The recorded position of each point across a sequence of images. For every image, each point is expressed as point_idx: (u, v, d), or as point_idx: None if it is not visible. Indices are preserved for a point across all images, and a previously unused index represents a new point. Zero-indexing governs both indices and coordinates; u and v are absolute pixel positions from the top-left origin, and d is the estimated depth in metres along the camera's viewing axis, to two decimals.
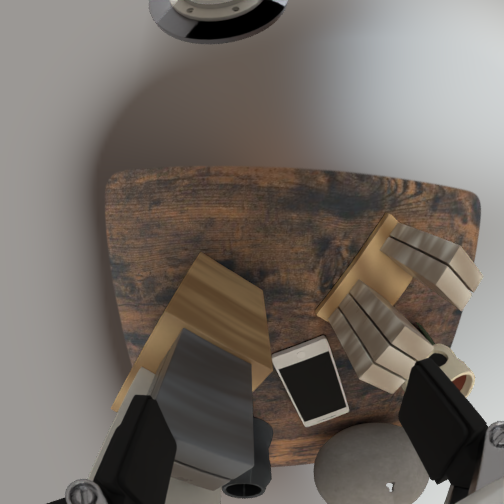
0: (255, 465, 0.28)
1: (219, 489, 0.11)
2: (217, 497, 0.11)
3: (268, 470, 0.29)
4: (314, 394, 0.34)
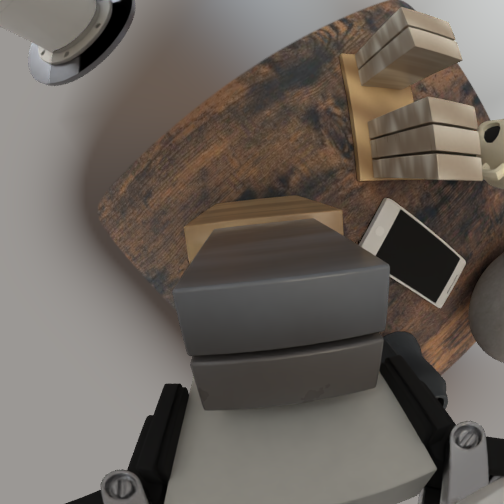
0: (420, 377, 0.23)
1: (387, 388, 0.08)
2: (390, 400, 0.07)
3: (436, 374, 0.23)
4: (423, 264, 0.28)
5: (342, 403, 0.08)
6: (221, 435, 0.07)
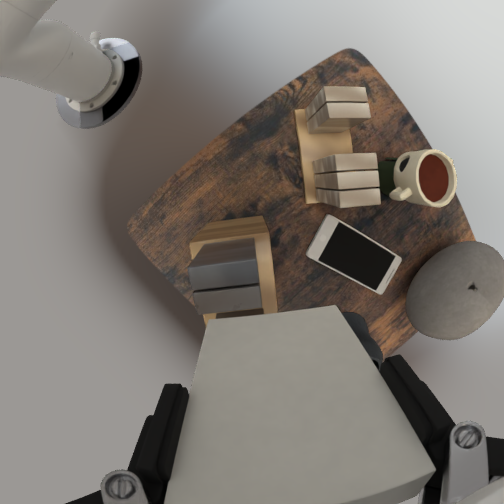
0: None
1: (386, 389, 0.08)
2: (389, 401, 0.07)
3: (371, 342, 0.37)
4: (361, 261, 0.42)
5: (341, 404, 0.08)
6: (221, 436, 0.07)
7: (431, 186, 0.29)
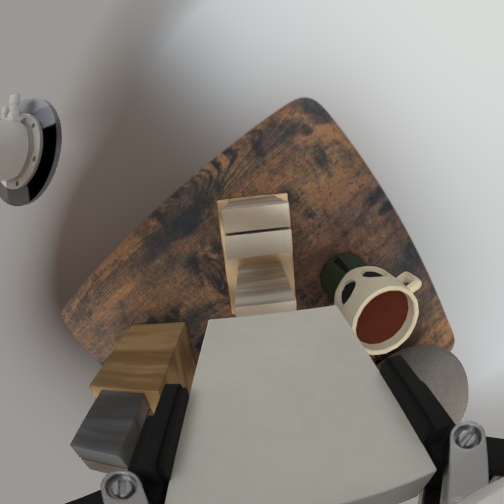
0: None
1: (387, 389, 0.08)
2: (390, 401, 0.07)
3: None
4: None
5: (342, 404, 0.08)
6: (222, 436, 0.07)
7: (378, 326, 0.24)
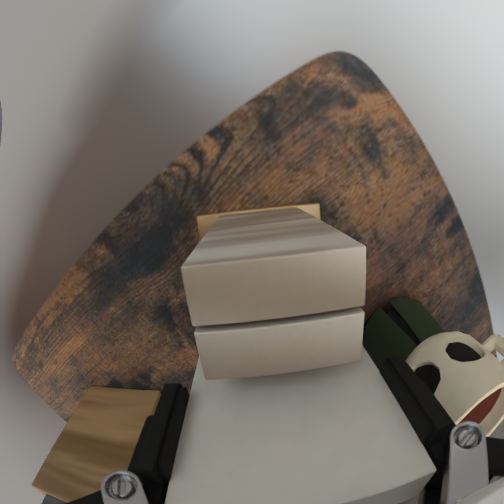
0: None
1: (386, 389, 0.08)
2: (390, 401, 0.07)
3: None
4: None
5: (342, 404, 0.08)
6: (222, 436, 0.07)
7: None
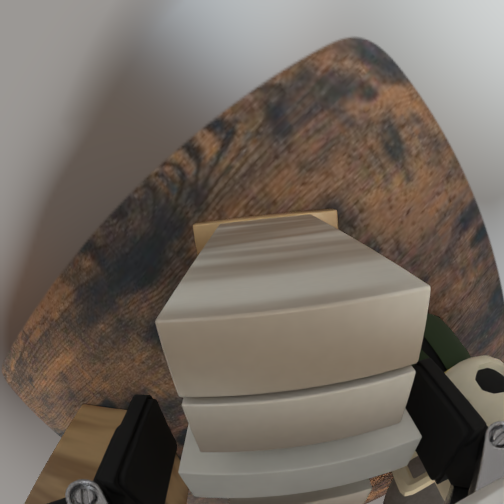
0: None
1: None
2: None
3: None
4: None
5: None
6: None
7: None
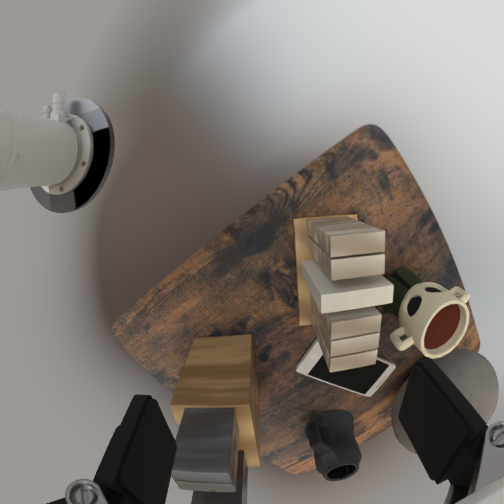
0: (336, 450, 0.33)
1: None
2: None
3: (351, 448, 0.33)
4: (352, 372, 0.38)
5: None
6: (328, 281, 0.26)
7: (437, 334, 0.25)
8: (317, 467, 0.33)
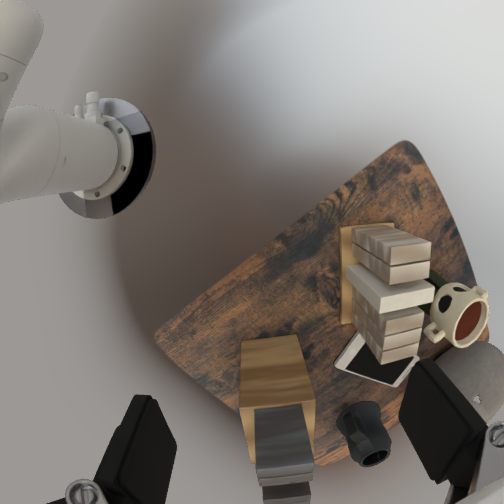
0: (371, 437, 0.35)
1: None
2: None
3: (384, 434, 0.36)
4: (383, 365, 0.40)
5: None
6: (380, 285, 0.28)
7: (464, 327, 0.27)
8: (353, 455, 0.36)
